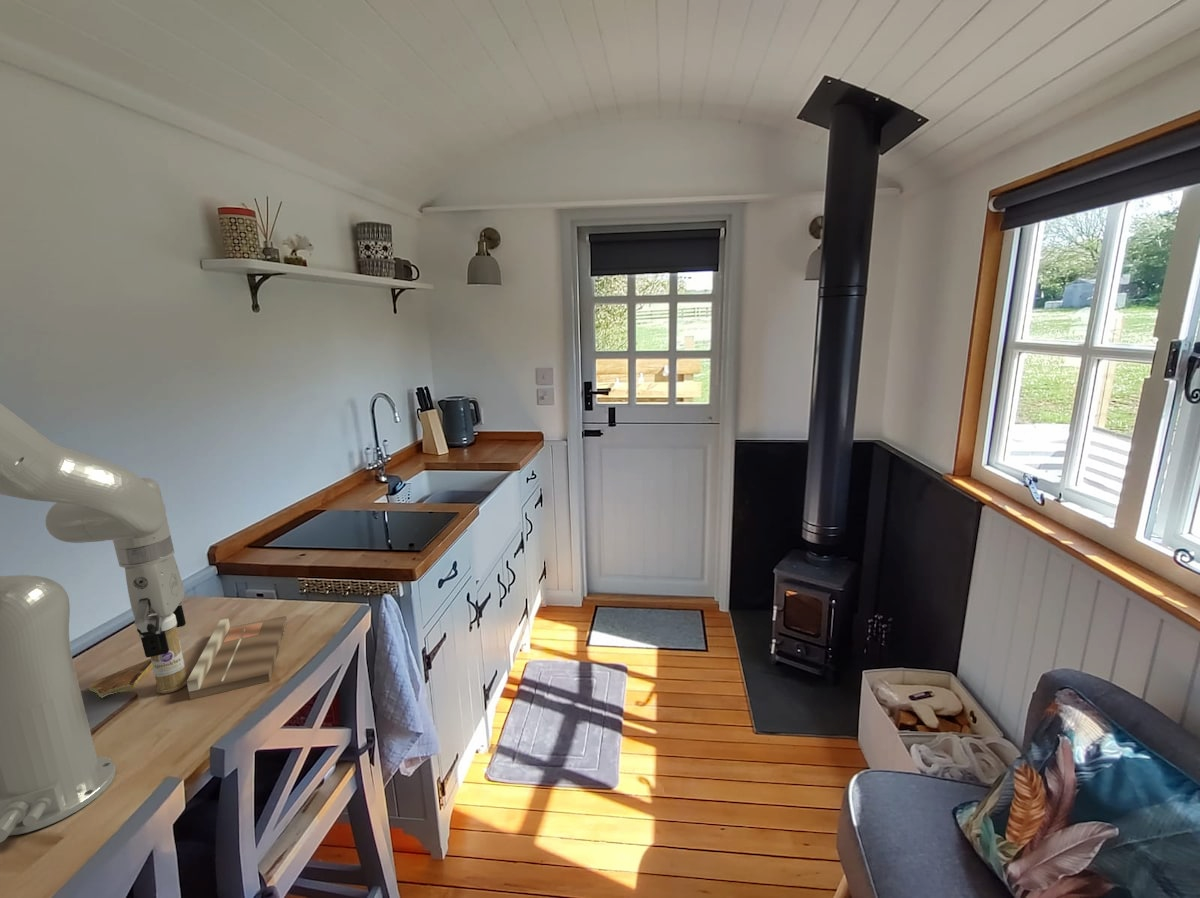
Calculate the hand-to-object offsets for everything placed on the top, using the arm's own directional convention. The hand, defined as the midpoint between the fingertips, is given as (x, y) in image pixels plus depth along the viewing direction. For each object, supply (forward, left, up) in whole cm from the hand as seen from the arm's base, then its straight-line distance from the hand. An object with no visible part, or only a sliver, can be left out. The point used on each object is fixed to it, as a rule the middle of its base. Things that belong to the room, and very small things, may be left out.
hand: (167, 640), depth 100 cm
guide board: (+5, -10, -9) cm, 14 cm away
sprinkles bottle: (-1, 0, -9) cm, 9 cm away
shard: (+6, +10, -9) cm, 15 cm away
